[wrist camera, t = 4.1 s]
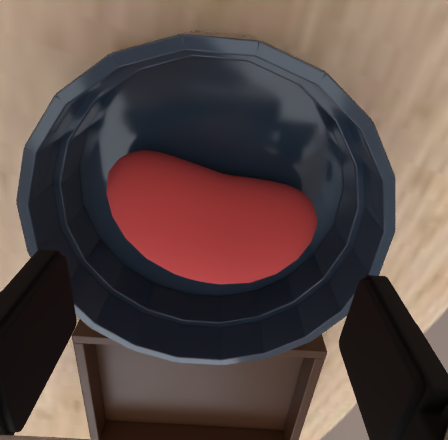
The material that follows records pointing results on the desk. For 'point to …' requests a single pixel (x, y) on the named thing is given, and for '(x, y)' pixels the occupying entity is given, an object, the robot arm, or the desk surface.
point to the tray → (193, 393)
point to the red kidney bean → (208, 218)
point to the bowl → (223, 163)
